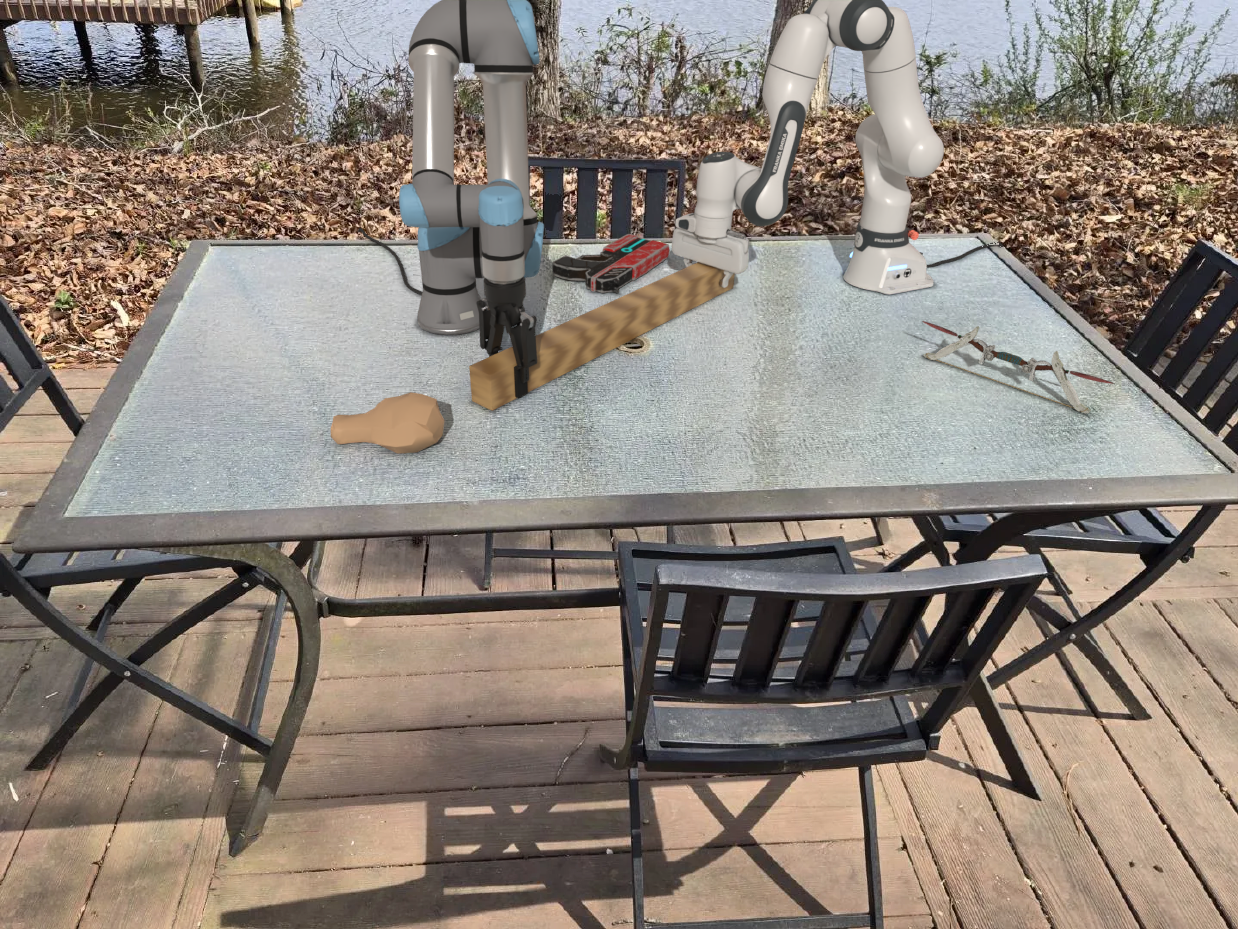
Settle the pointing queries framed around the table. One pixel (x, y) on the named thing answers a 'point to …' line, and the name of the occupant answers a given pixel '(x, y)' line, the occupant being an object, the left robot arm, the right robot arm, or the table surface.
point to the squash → (393, 424)
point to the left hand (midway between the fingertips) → (510, 389)
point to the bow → (1026, 366)
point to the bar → (597, 332)
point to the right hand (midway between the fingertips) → (707, 281)
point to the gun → (613, 263)
